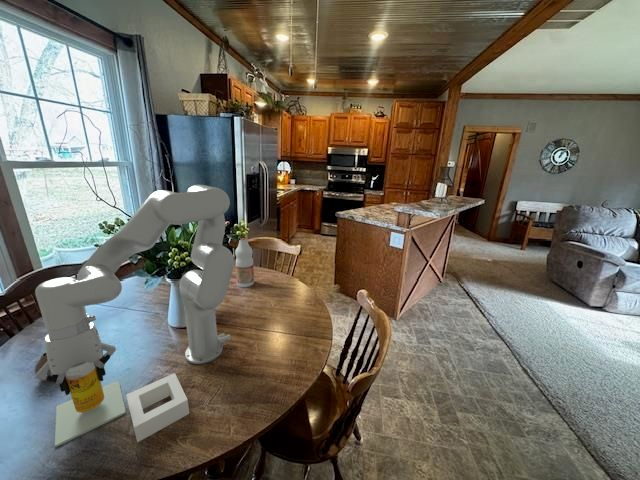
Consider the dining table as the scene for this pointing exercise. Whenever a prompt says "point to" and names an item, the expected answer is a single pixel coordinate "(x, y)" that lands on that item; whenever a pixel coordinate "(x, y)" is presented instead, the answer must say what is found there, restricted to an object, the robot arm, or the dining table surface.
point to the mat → (88, 415)
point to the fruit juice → (244, 264)
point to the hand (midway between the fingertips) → (85, 384)
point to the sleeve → (161, 414)
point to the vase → (40, 365)
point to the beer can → (85, 387)
